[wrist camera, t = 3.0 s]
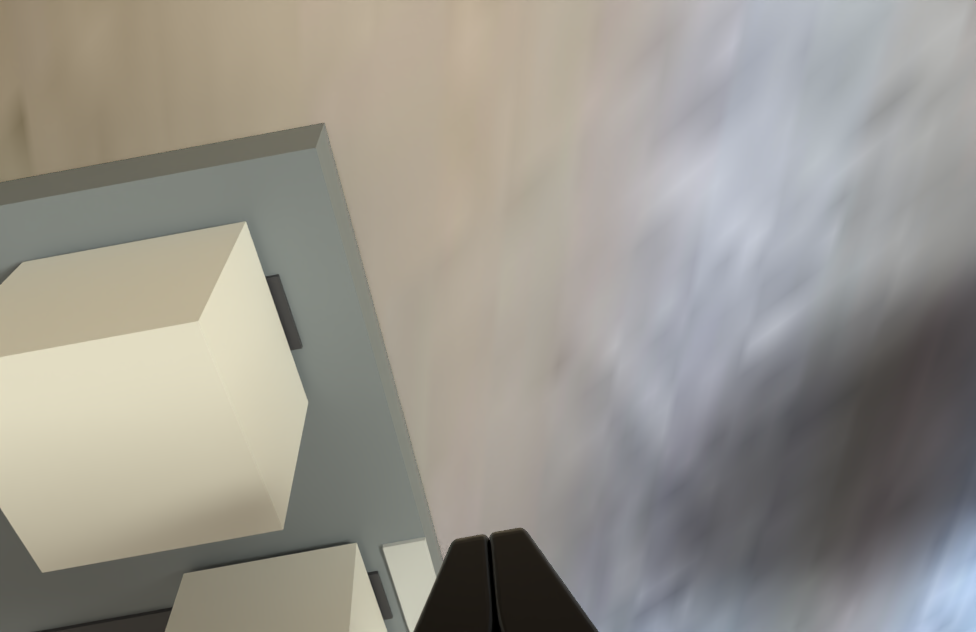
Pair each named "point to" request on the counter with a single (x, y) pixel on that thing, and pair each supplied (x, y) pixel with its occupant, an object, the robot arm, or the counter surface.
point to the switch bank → (314, 347)
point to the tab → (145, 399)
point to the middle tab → (280, 595)
